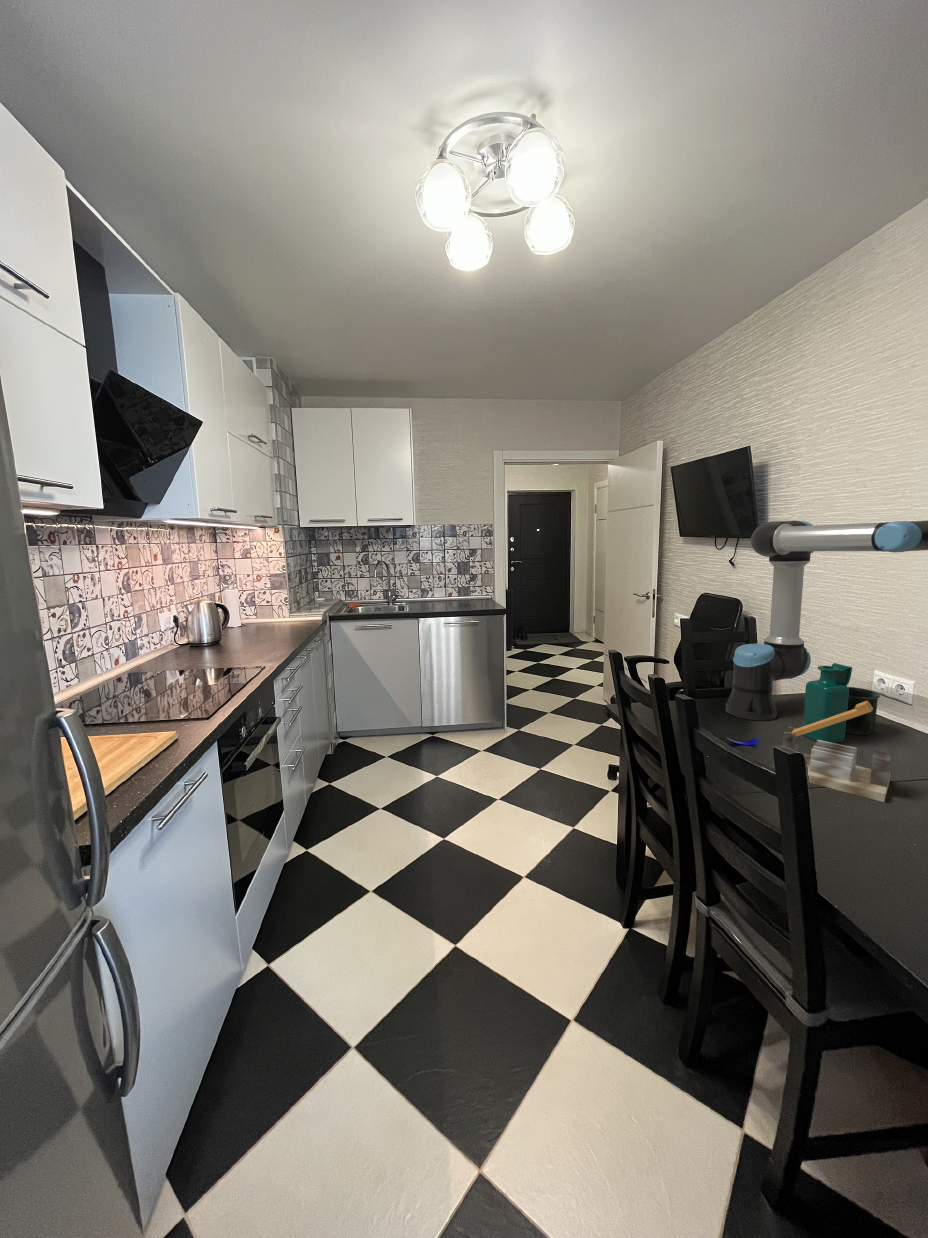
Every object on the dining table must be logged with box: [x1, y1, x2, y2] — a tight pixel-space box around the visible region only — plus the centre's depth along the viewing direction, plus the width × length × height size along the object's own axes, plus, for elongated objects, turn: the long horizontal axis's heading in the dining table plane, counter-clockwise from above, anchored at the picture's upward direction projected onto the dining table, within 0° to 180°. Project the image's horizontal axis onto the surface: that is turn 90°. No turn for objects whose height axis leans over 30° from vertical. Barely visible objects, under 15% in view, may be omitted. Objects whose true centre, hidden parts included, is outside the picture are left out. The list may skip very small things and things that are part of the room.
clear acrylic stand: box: [782, 726, 892, 803], centre depth 121 cm, size 21×13×10 cm, turn 45°
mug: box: [845, 686, 881, 736], centre depth 151 cm, size 11×15×12 cm
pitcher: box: [802, 662, 853, 744], centre depth 143 cm, size 10×8×22 cm
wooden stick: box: [791, 701, 873, 737], centre depth 120 cm, size 18×3×2 cm
